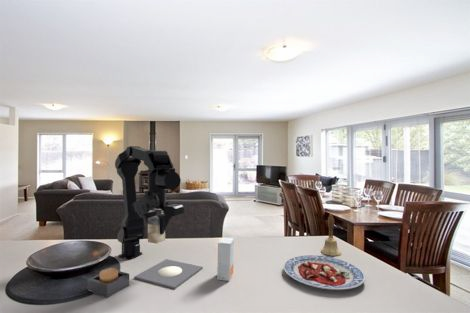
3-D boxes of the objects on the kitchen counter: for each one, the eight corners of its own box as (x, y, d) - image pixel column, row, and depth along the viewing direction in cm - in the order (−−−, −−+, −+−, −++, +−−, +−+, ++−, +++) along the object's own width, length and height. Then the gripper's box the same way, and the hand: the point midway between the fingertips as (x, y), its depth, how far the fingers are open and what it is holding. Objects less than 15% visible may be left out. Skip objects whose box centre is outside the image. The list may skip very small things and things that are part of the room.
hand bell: (316, 251, 111) (317, 214, 111) (327, 247, 116) (327, 211, 116) (335, 257, 105) (335, 217, 105) (345, 253, 110) (345, 214, 110)
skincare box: (229, 281, 84) (230, 243, 84) (216, 280, 85) (217, 242, 85) (233, 273, 90) (234, 238, 90) (221, 271, 91) (222, 237, 91)
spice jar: (147, 242, 88) (147, 218, 88) (156, 238, 92) (156, 215, 92) (157, 243, 87) (157, 219, 87) (165, 240, 90) (165, 216, 90)
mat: (134, 278, 85) (134, 276, 85) (166, 260, 100) (166, 258, 100) (174, 289, 79) (174, 286, 79) (202, 268, 93) (202, 266, 93)
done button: (95, 281, 77) (95, 273, 77) (110, 274, 82) (110, 266, 82) (107, 285, 75) (107, 276, 75) (121, 278, 80) (121, 269, 80)
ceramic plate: (276, 285, 82) (276, 276, 82) (290, 256, 106) (290, 249, 106) (368, 304, 72) (368, 293, 72) (361, 267, 96) (361, 259, 96)
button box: (87, 291, 77) (87, 279, 77) (110, 279, 84) (110, 268, 84) (107, 297, 73) (107, 285, 73) (129, 285, 81) (129, 273, 81)
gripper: (117, 188, 86) (117, 236, 86) (162, 191, 78) (162, 244, 78) (142, 185, 96) (142, 228, 96) (185, 187, 88) (184, 234, 88)
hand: (156, 233), depth 89 cm, fingers closed on spice jar, 4 cm apart
